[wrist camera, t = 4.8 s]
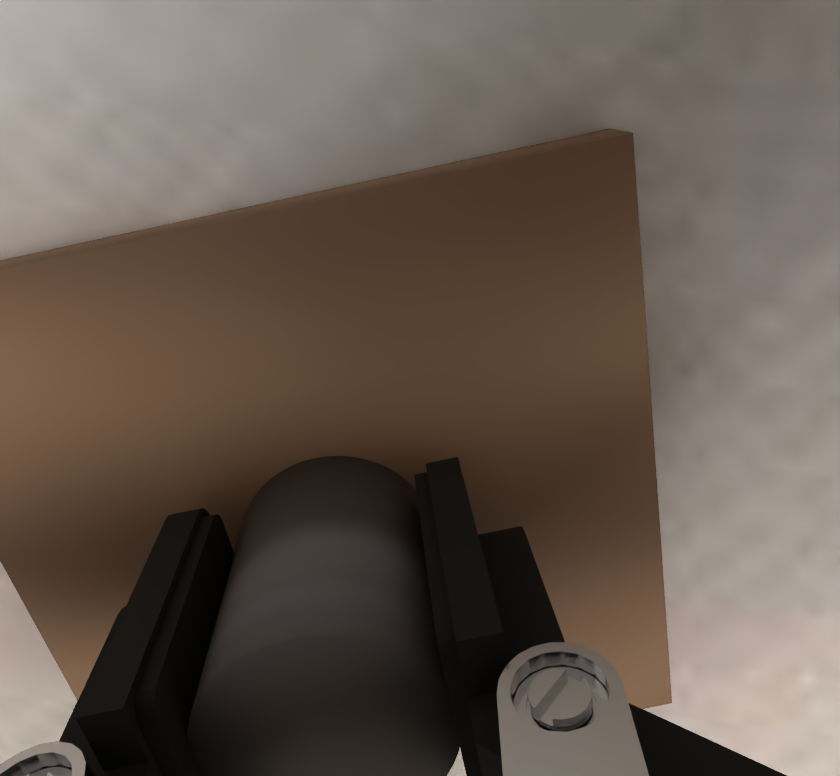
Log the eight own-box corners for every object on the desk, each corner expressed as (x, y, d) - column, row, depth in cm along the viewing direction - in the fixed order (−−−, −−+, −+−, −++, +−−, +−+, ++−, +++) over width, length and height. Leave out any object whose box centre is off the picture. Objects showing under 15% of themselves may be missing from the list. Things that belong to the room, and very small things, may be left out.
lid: (-100, 282, 11) (-452, 431, 6) (608, 128, 10) (799, 162, 6) (153, 768, 15) (61, 1066, 10) (652, 664, 15) (780, 921, 10)
